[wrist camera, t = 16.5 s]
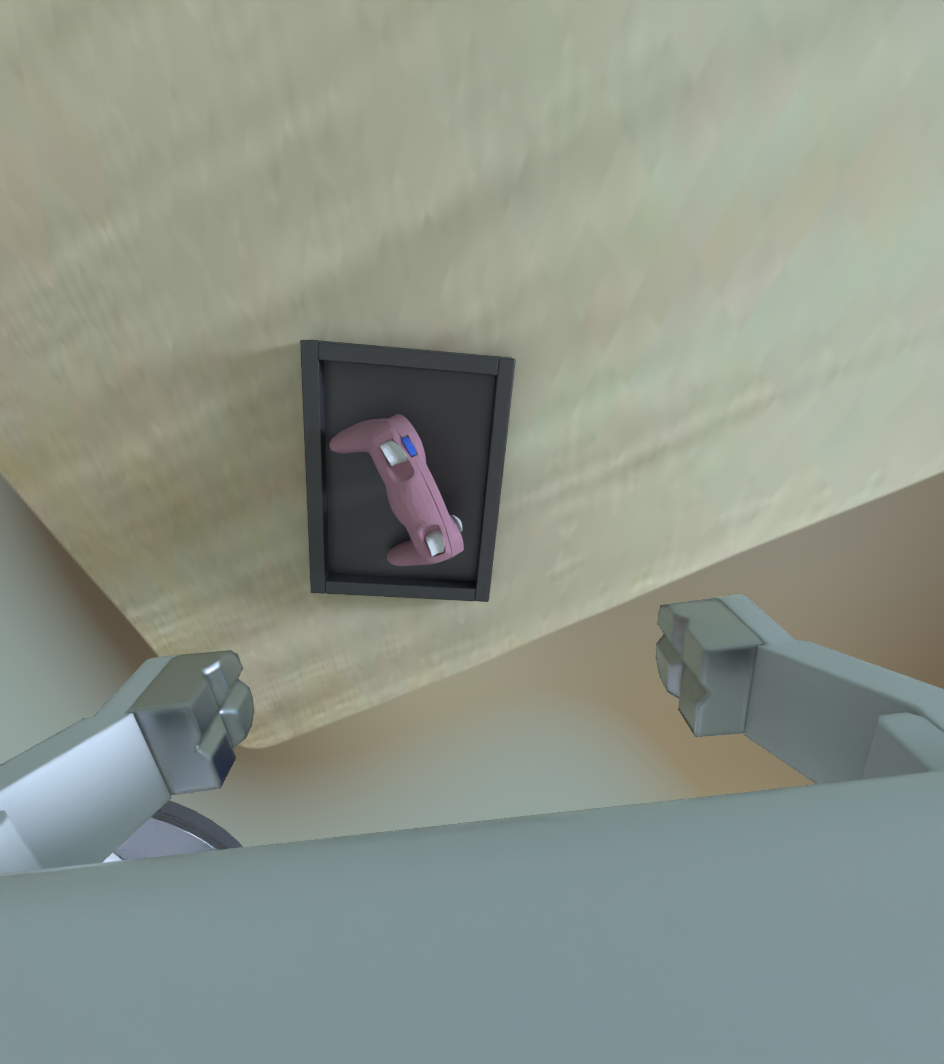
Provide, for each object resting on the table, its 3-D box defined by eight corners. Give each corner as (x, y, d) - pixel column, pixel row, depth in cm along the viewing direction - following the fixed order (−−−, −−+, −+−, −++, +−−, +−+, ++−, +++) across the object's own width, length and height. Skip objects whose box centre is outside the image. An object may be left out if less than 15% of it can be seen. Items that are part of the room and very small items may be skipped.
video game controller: (441, 534, 36) (488, 555, 30) (387, 566, 34) (425, 595, 28) (383, 406, 32) (422, 400, 26) (320, 436, 31) (346, 436, 25)
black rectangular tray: (317, 579, 36) (310, 593, 34) (309, 339, 30) (300, 340, 28) (486, 588, 37) (488, 602, 35) (511, 357, 31) (515, 359, 29)
